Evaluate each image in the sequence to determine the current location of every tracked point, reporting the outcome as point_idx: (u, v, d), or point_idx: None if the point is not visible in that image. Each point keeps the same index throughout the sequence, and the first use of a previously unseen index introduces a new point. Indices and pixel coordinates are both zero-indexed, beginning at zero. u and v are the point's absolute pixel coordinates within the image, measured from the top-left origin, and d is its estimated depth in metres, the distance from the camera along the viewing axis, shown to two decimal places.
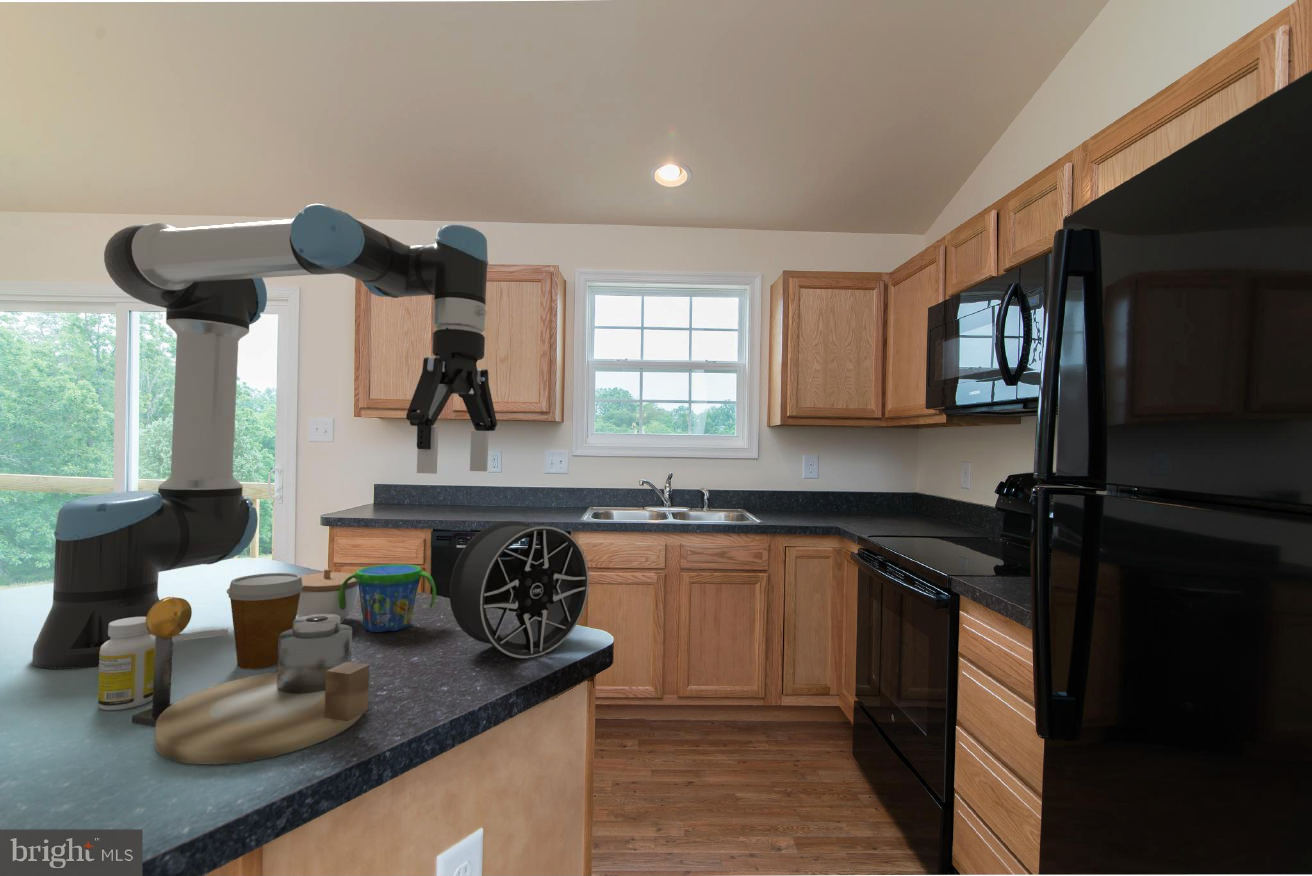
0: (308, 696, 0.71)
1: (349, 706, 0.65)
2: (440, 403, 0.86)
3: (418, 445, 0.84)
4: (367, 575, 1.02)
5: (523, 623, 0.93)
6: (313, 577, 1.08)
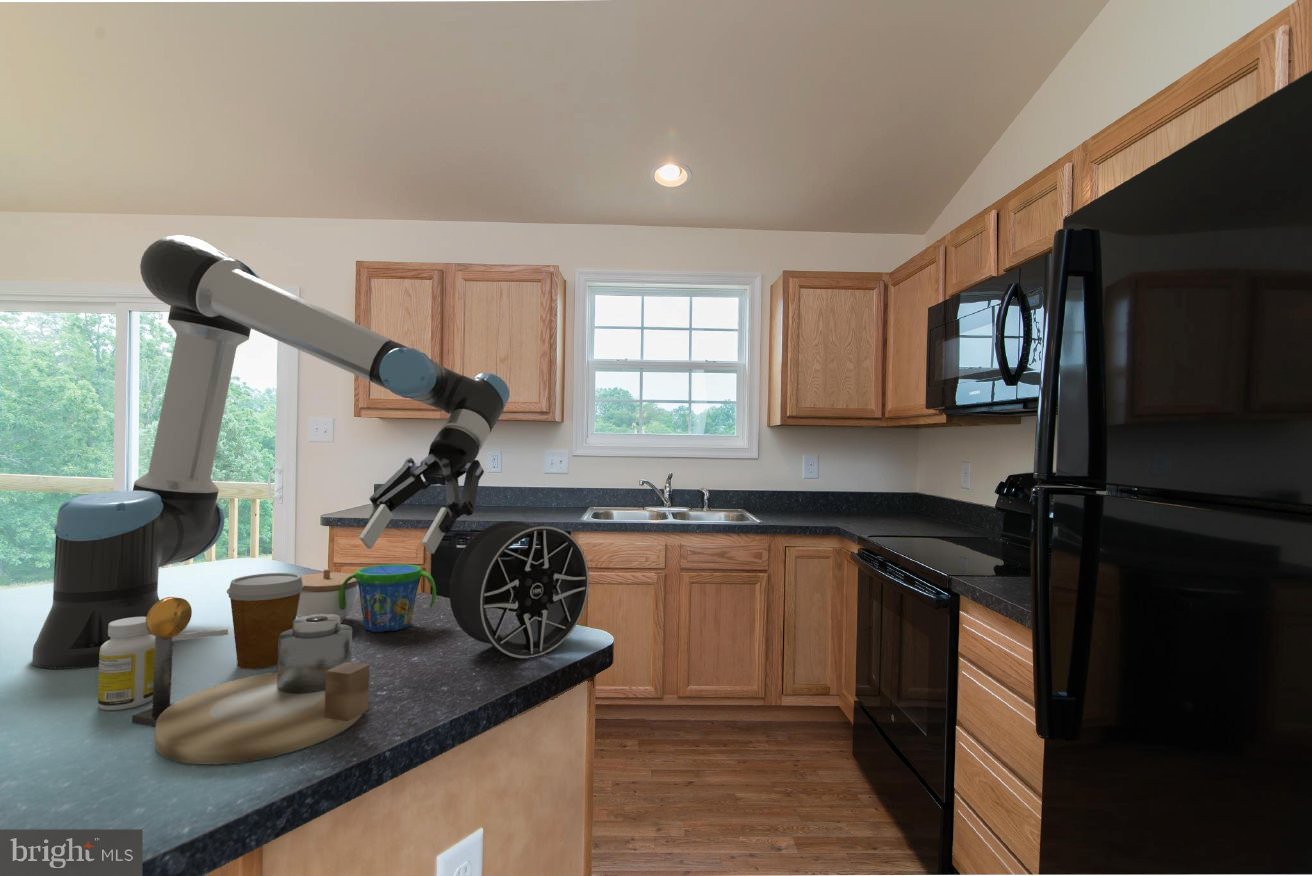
0: (308, 696, 0.71)
1: (349, 706, 0.65)
2: (458, 500, 0.97)
3: (447, 525, 0.91)
4: (368, 575, 1.02)
5: (523, 623, 0.93)
6: (312, 577, 1.08)
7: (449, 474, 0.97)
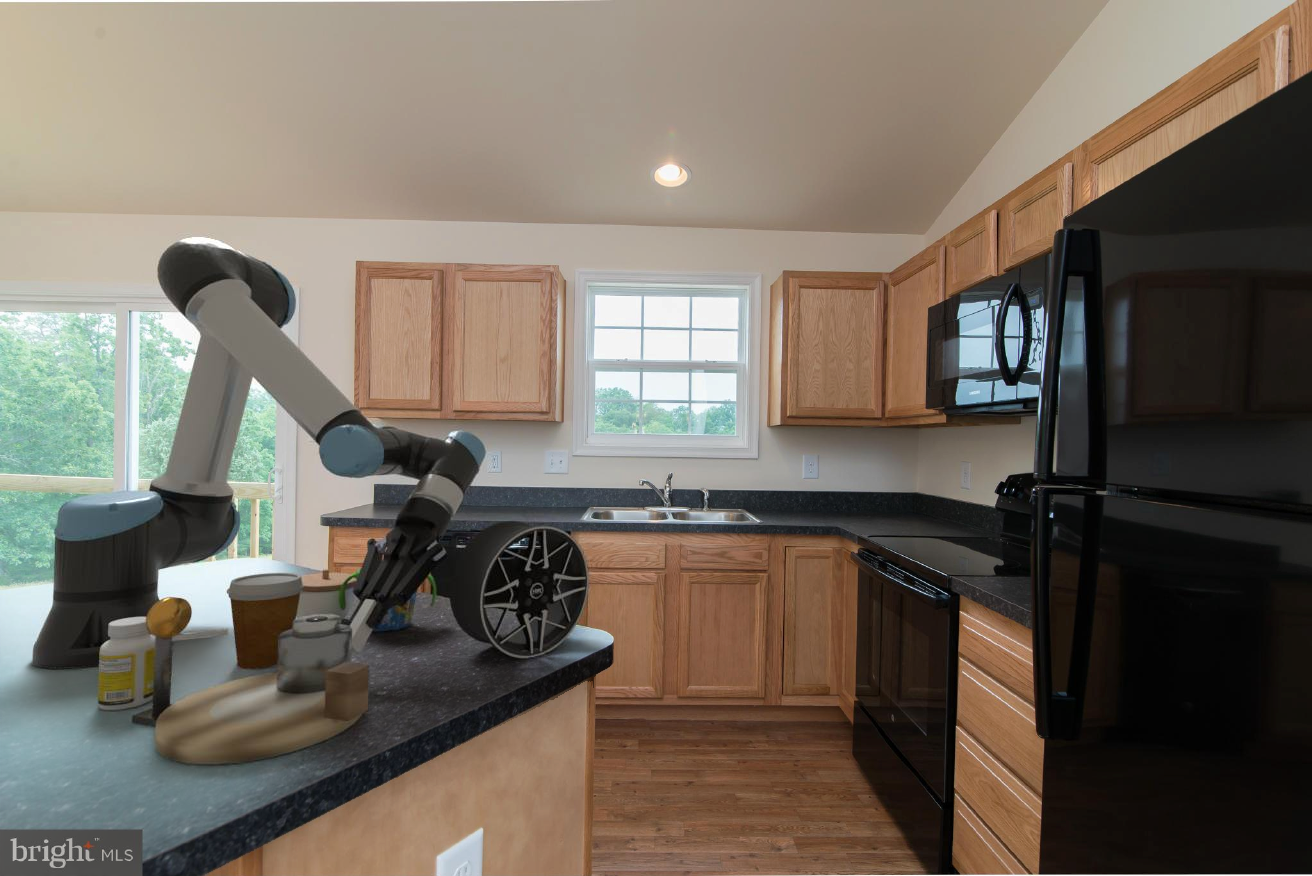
0: (308, 696, 0.71)
1: (349, 706, 0.65)
2: None
3: (375, 621, 0.83)
4: None
5: (523, 623, 0.93)
6: (311, 577, 1.08)
7: (404, 556, 0.89)
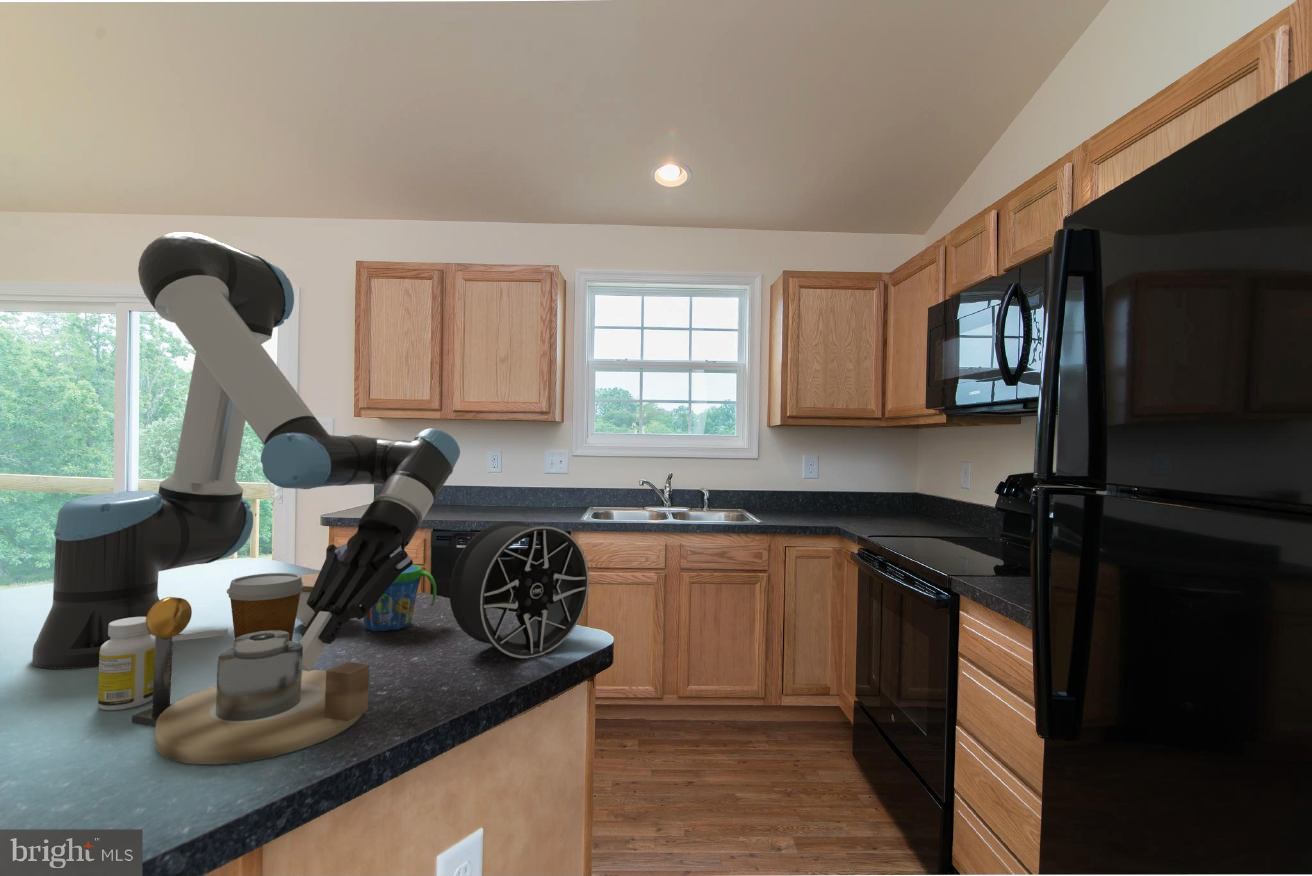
0: (308, 696, 0.71)
1: (349, 706, 0.65)
2: None
3: (329, 636, 0.75)
4: None
5: (523, 623, 0.93)
6: (311, 578, 1.08)
7: (364, 563, 0.82)
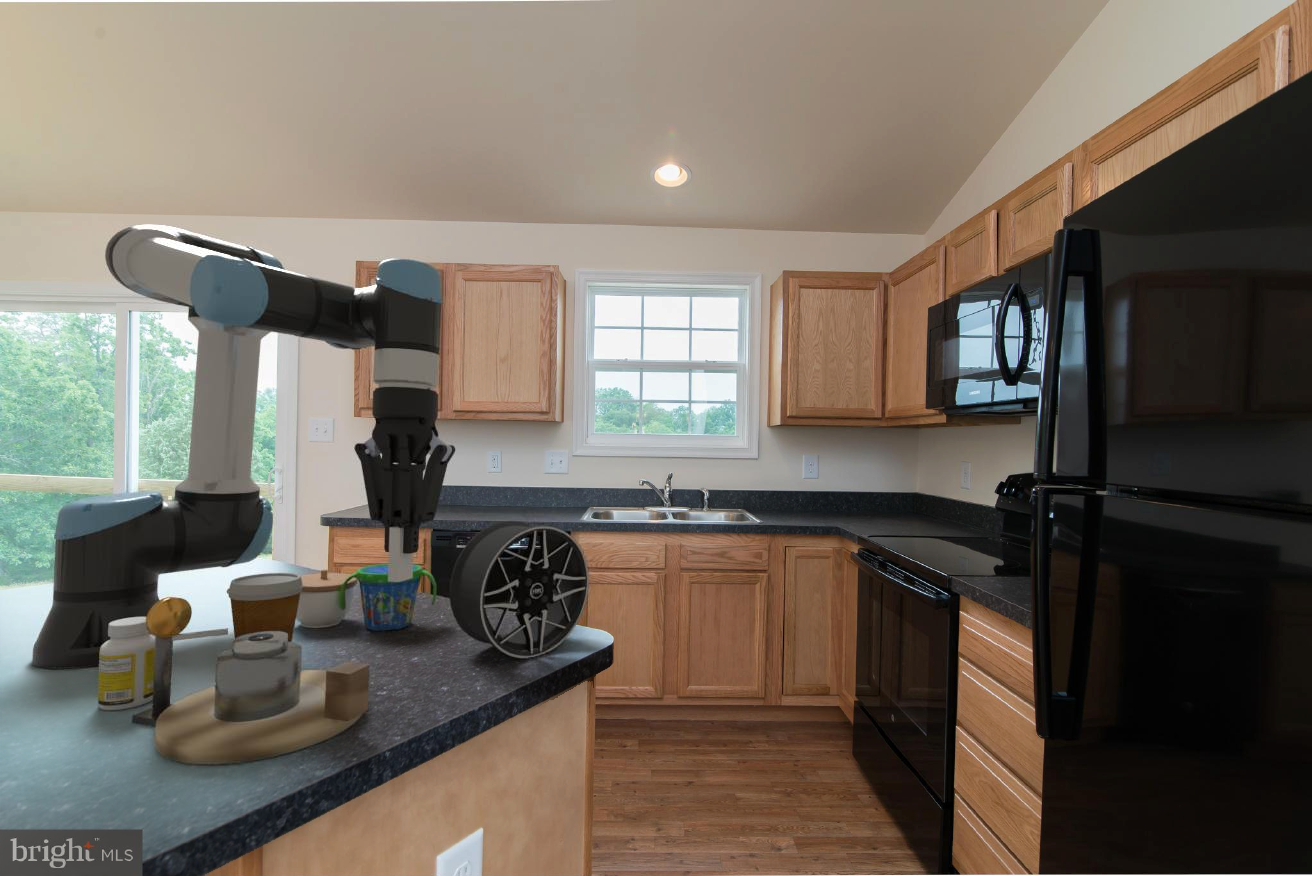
0: (308, 696, 0.71)
1: (349, 706, 0.65)
2: None
3: (412, 549, 0.74)
4: (371, 574, 1.02)
5: (523, 623, 0.93)
6: (309, 578, 1.07)
7: (407, 468, 0.73)
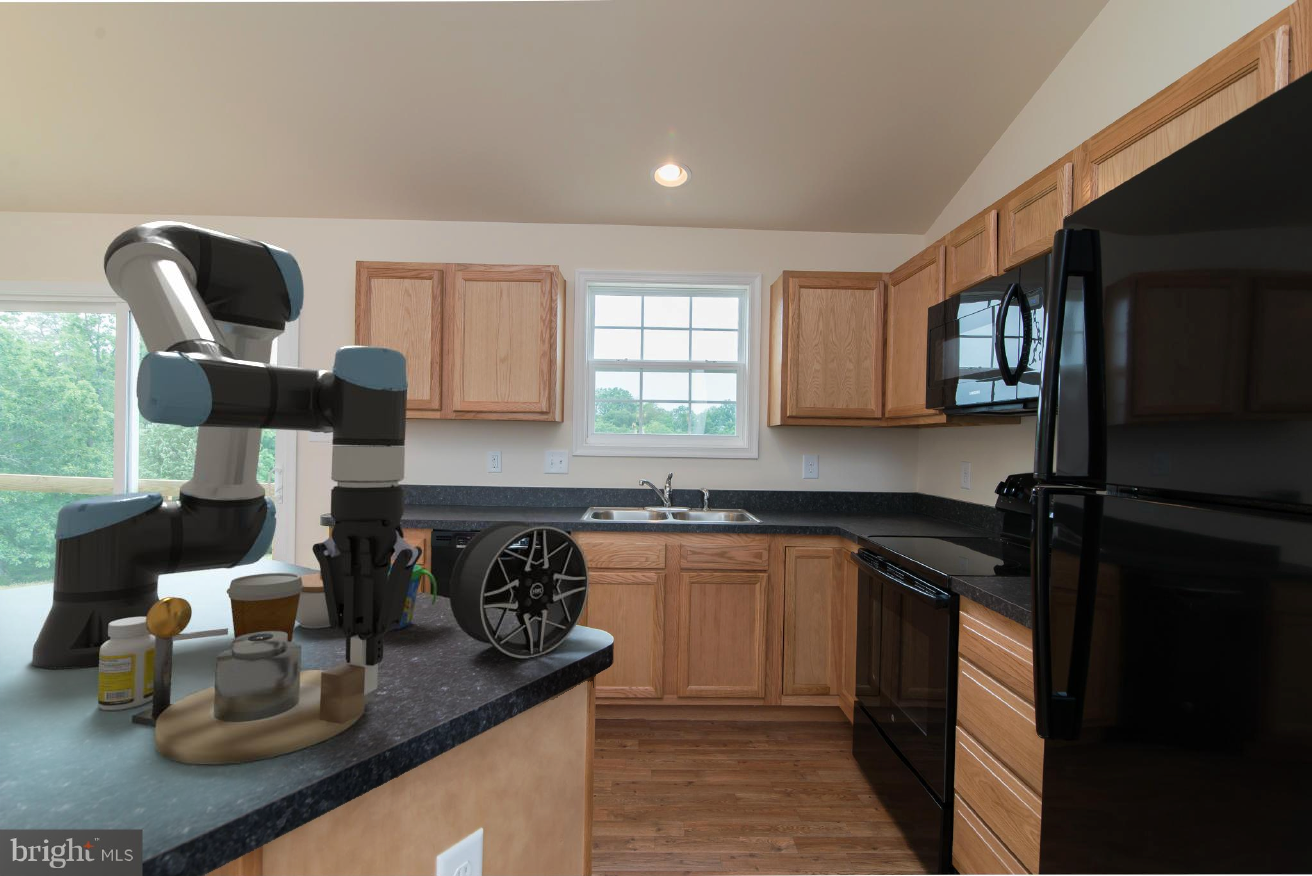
0: (307, 697, 0.71)
1: (342, 708, 0.64)
2: None
3: (376, 660, 0.68)
4: None
5: (523, 623, 0.93)
6: (308, 578, 1.07)
7: (368, 575, 0.67)
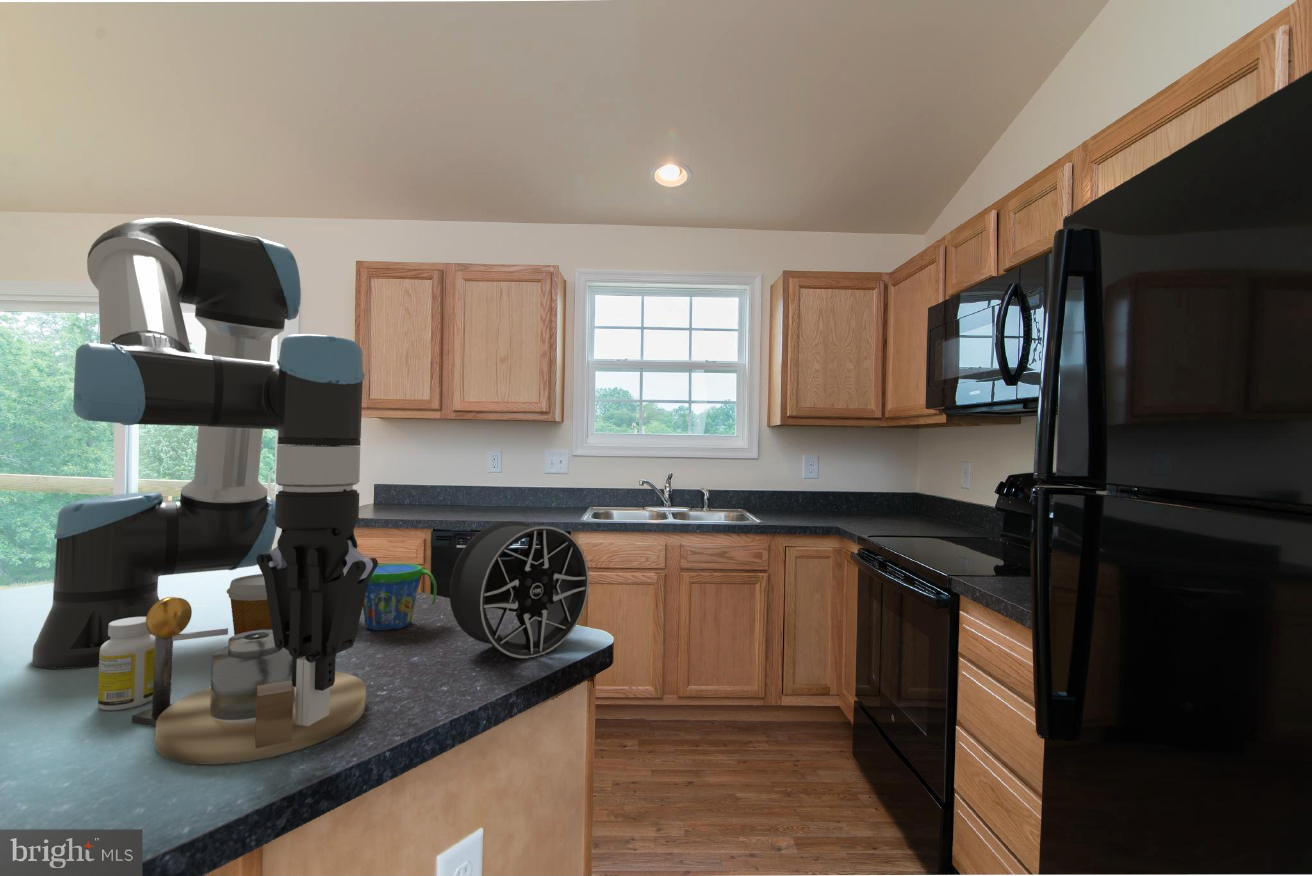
0: (295, 706, 0.68)
1: (257, 731, 0.59)
2: None
3: (326, 685, 0.61)
4: (372, 574, 1.02)
5: (523, 623, 0.93)
6: None
7: (317, 589, 0.60)
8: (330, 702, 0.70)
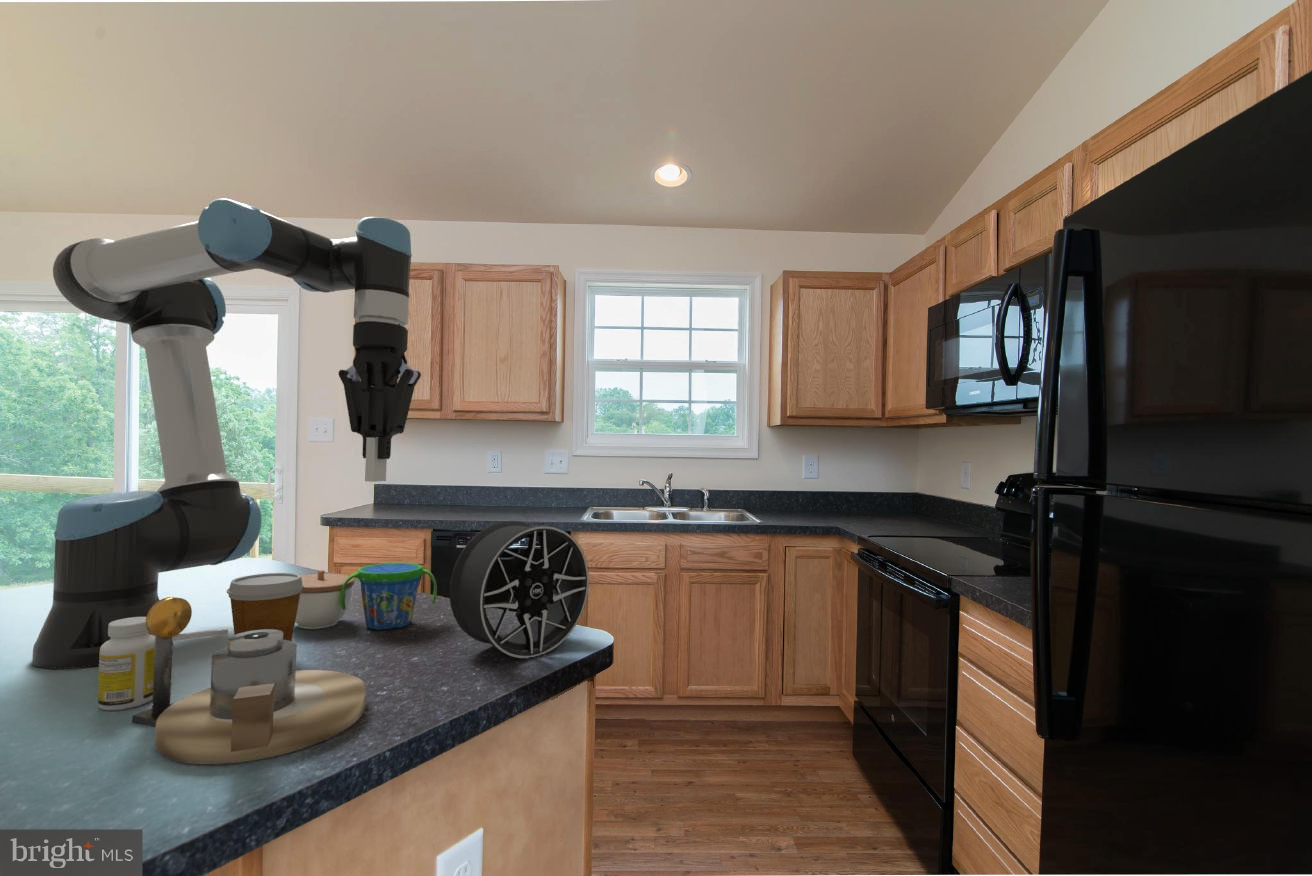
0: (290, 708, 0.68)
1: (232, 735, 0.58)
2: None
3: (385, 455, 0.91)
4: (375, 574, 1.03)
5: (523, 623, 0.93)
6: (306, 579, 1.07)
7: (380, 388, 0.90)
8: (324, 706, 0.68)
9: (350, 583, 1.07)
